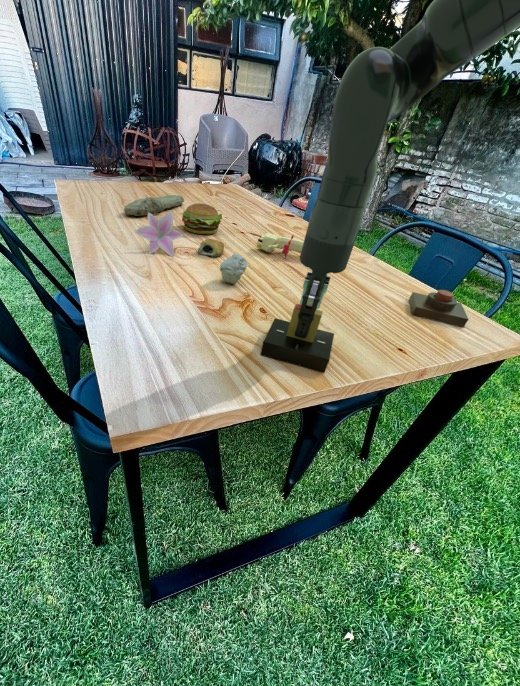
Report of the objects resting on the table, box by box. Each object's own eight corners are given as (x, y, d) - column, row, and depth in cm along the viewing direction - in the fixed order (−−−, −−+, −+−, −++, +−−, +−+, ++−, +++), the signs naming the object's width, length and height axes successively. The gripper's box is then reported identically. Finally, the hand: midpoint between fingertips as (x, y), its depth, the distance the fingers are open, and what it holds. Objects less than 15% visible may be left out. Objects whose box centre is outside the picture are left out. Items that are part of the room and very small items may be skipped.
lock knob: (314, 337, 65) (323, 309, 61) (312, 342, 64) (322, 314, 60) (288, 331, 66) (295, 303, 62) (286, 335, 64) (294, 307, 61)
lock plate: (329, 346, 69) (334, 332, 67) (324, 373, 62) (329, 358, 60) (271, 331, 71) (275, 317, 69) (260, 355, 64) (263, 340, 62)
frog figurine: (248, 286, 88) (253, 258, 83) (224, 288, 85) (228, 260, 80) (237, 276, 92) (241, 249, 87) (213, 279, 89) (216, 251, 84)
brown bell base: (456, 310, 90) (464, 296, 88) (463, 327, 83) (473, 312, 80) (408, 299, 93) (415, 285, 90) (411, 315, 85) (419, 299, 83)
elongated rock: (190, 208, 146) (169, 205, 149) (190, 194, 143) (169, 190, 146) (140, 218, 120) (117, 214, 123) (139, 201, 117) (115, 197, 120)
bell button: (448, 298, 86) (452, 291, 85) (451, 304, 84) (455, 297, 83) (433, 295, 87) (437, 288, 86) (435, 300, 84) (439, 293, 83)
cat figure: (332, 263, 112) (258, 241, 114) (343, 235, 106) (265, 213, 108) (330, 274, 104) (252, 250, 107) (342, 244, 98) (259, 220, 101)
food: (175, 232, 115) (175, 205, 110) (187, 222, 125) (188, 197, 120) (215, 239, 114) (217, 212, 108) (224, 228, 124) (226, 204, 119)
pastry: (209, 245, 108) (210, 232, 106) (228, 250, 107) (230, 237, 104) (196, 253, 101) (197, 240, 99) (217, 259, 100) (219, 245, 97)
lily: (130, 251, 100) (131, 225, 91) (150, 226, 104) (153, 199, 96) (167, 272, 100) (171, 248, 92) (185, 247, 105) (191, 221, 96)
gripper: (353, 252, 47) (316, 357, 59) (357, 229, 57) (325, 322, 69) (300, 241, 49) (274, 345, 60) (312, 220, 59) (288, 313, 70)
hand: (301, 332), depth 64 cm, fingers closed on lock knob, 2 cm apart
